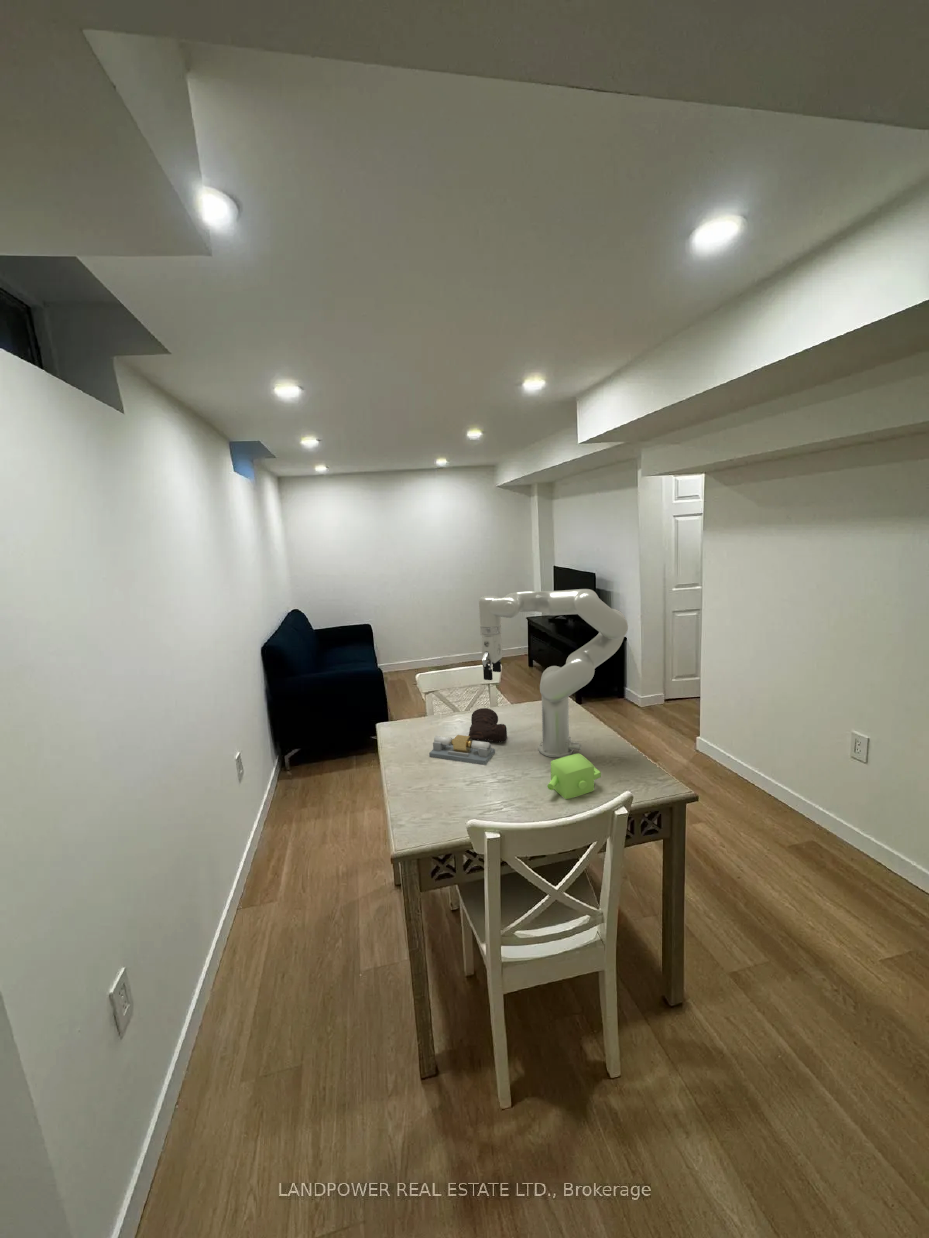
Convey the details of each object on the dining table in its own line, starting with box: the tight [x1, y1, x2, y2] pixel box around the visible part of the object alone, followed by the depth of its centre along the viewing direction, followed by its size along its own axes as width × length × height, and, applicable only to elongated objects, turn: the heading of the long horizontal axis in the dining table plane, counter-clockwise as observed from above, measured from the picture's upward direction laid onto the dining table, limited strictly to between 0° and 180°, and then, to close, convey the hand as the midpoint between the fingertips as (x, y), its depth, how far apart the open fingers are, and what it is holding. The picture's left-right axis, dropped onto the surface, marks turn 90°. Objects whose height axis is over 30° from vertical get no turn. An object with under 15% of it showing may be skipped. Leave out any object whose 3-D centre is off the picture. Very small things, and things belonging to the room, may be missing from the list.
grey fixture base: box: [428, 735, 496, 766], centre depth 180 cm, size 22×10×6 cm, turn 68°
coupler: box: [451, 734, 473, 753], centre depth 180 cm, size 7×4×5 cm, turn 68°
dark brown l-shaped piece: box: [467, 707, 508, 743], centre depth 195 cm, size 10×15×15 cm
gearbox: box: [546, 753, 602, 800], centre depth 152 cm, size 18×10×10 cm, turn 111°
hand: (492, 675), depth 180 cm, fingers open, 9 cm apart
